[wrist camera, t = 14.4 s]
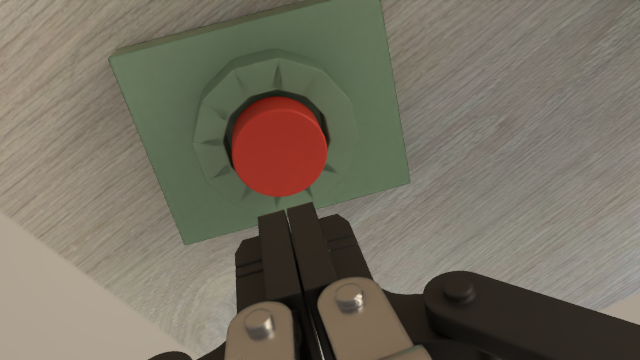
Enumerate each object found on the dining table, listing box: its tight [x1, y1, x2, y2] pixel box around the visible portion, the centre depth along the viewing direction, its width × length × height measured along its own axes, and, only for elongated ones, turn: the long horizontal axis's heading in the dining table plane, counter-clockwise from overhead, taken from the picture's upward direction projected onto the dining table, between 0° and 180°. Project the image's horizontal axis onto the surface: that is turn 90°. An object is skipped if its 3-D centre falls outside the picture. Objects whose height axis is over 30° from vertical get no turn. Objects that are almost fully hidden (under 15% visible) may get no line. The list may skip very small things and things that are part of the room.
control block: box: [108, 0, 410, 245], centre depth 23 cm, size 11×9×4 cm
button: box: [232, 96, 327, 197], centre depth 21 cm, size 4×4×2 cm
